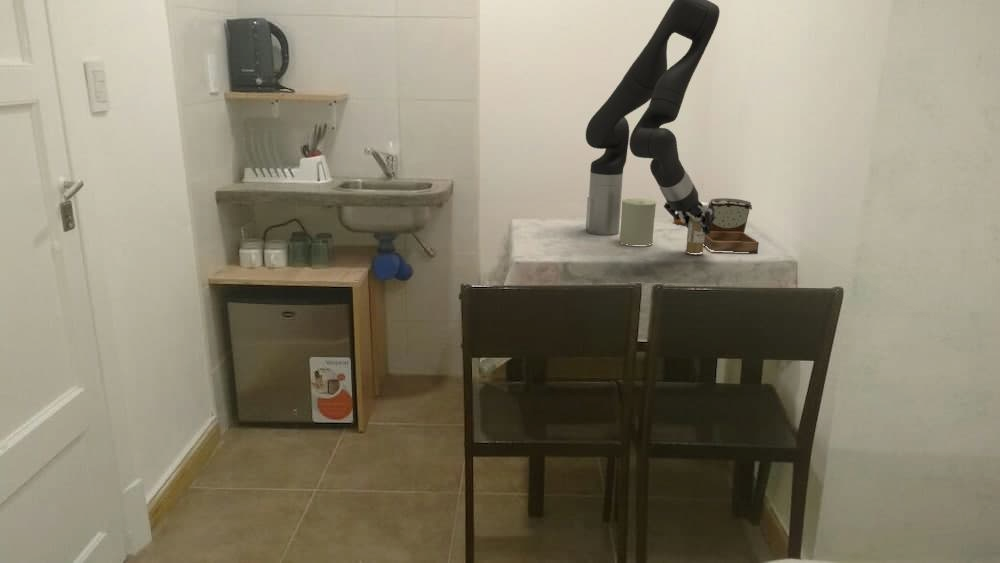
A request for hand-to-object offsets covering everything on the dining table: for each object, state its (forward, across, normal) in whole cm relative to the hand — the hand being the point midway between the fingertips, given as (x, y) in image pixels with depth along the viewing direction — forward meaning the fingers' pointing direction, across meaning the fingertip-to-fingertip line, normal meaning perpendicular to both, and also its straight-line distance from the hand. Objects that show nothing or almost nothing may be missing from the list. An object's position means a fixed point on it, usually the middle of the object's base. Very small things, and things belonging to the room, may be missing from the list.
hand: (700, 229), depth 190 cm
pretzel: (+26, +22, -16) cm, 37 cm away
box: (+12, -2, -4) cm, 13 cm away
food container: (+23, +8, -14) cm, 28 cm away
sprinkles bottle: (+3, 0, +6) cm, 7 cm away
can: (+1, +17, +8) cm, 19 cm away
